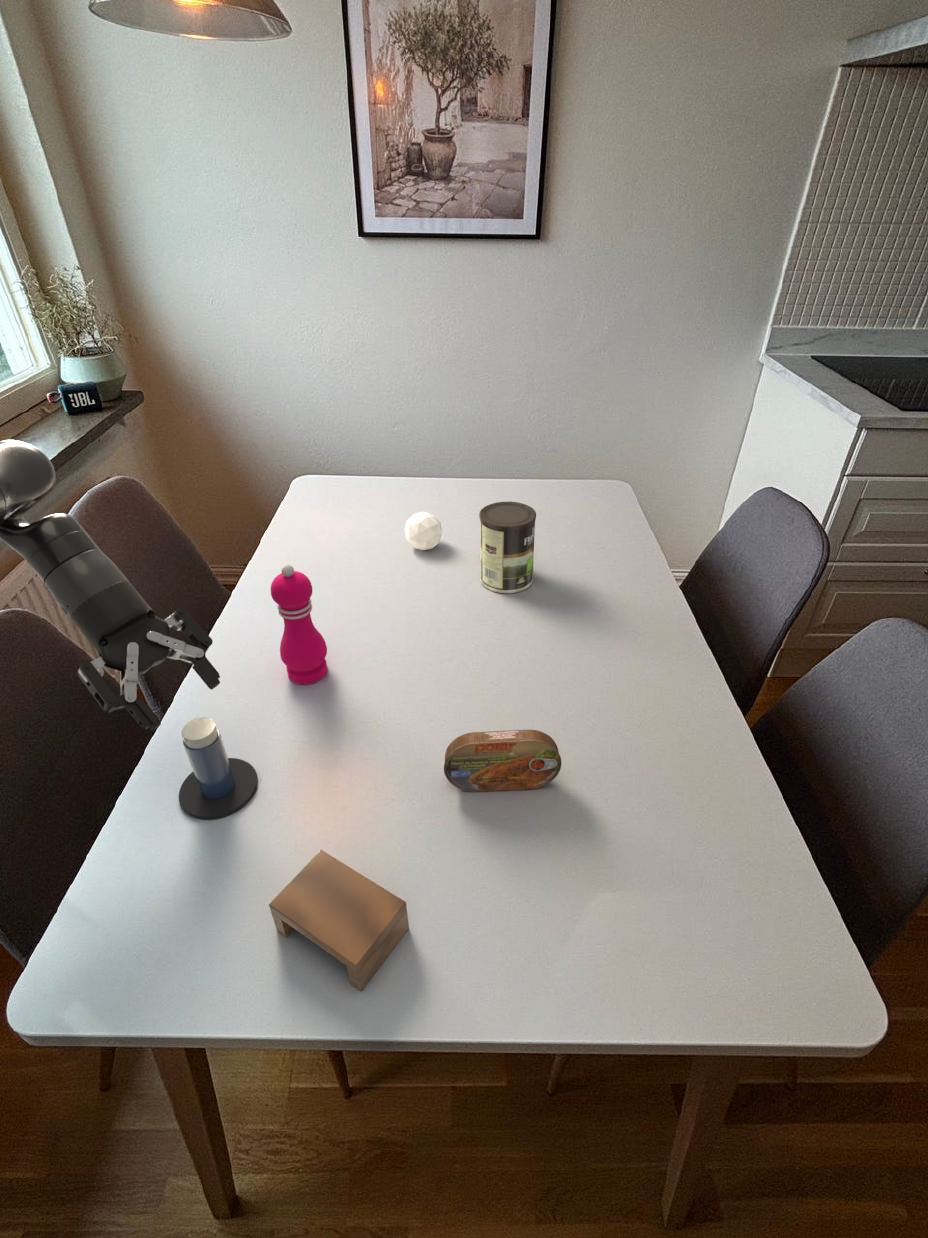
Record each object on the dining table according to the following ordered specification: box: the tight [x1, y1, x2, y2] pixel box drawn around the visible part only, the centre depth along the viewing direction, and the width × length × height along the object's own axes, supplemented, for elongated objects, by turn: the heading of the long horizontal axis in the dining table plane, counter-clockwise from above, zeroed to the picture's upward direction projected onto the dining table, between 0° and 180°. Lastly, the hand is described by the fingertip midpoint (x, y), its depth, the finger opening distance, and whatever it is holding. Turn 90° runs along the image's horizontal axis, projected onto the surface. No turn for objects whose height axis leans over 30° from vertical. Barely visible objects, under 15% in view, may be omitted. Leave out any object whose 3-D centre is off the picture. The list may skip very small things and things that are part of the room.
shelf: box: [268, 849, 410, 992], centre depth 72 cm, size 8×12×5 cm, turn 57°
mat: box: [178, 757, 259, 821], centre depth 90 cm, size 10×10×1 cm
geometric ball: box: [404, 511, 443, 551], centre depth 140 cm, size 8×8×8 cm
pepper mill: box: [270, 564, 328, 685], centre depth 104 cm, size 7×7×20 cm
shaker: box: [181, 717, 235, 799], centre depth 87 cm, size 4×4×10 cm
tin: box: [443, 729, 562, 793], centre depth 88 cm, size 15×3×8 cm, turn 92°
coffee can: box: [478, 501, 537, 594], centre depth 127 cm, size 10×10×14 cm
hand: (187, 706), depth 81 cm, fingers open, 8 cm apart
